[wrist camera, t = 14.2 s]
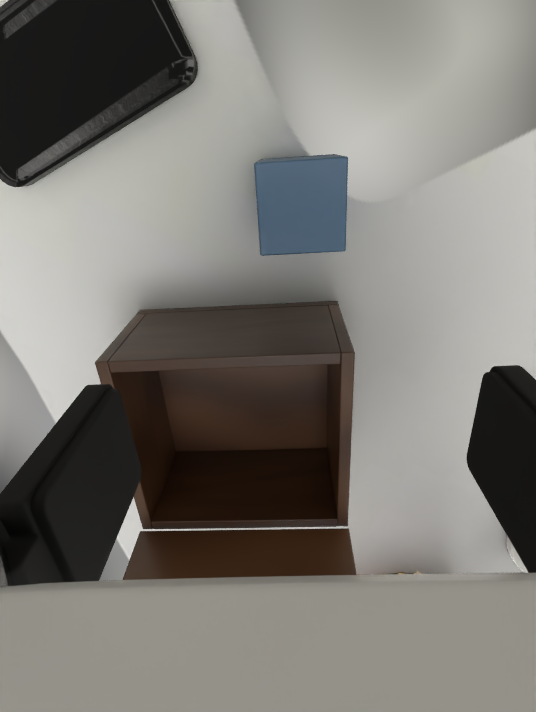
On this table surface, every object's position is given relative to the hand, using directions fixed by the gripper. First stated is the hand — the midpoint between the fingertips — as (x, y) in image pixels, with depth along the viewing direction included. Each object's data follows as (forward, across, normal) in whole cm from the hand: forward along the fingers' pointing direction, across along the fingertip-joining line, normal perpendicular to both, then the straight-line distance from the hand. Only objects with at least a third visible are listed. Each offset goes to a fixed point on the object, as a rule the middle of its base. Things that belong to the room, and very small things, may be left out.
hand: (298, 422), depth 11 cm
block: (+22, -1, -3) cm, 22 cm away
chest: (+21, +4, +12) cm, 25 cm away
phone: (+22, +13, -11) cm, 28 cm away
